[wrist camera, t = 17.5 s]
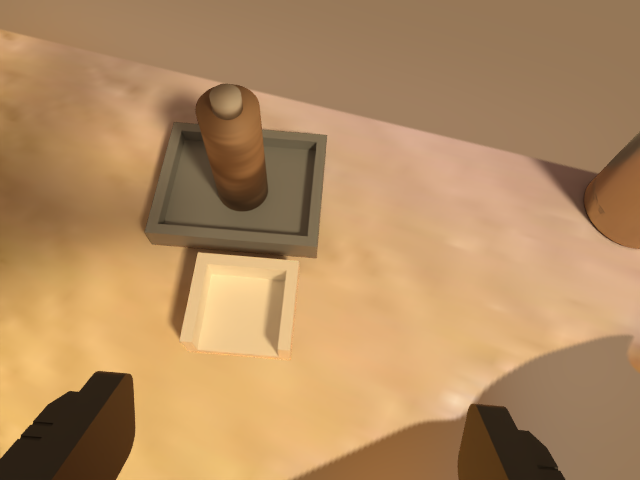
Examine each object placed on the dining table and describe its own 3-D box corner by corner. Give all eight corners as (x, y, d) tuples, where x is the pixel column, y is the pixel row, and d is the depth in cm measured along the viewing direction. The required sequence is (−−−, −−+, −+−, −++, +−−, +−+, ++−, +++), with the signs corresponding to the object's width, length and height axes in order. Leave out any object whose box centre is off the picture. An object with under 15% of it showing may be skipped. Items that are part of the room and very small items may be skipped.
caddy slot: (299, 275, 46) (299, 260, 43) (290, 360, 43) (289, 350, 40) (204, 268, 46) (197, 252, 43) (188, 351, 43) (179, 341, 40)
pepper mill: (271, 171, 50) (262, 74, 38) (264, 213, 48) (253, 123, 36) (222, 167, 50) (198, 68, 38) (214, 209, 48) (186, 118, 36)
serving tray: (325, 149, 53) (327, 135, 51) (316, 258, 47) (317, 246, 45) (179, 137, 53) (174, 122, 51) (151, 244, 47) (144, 232, 45)
